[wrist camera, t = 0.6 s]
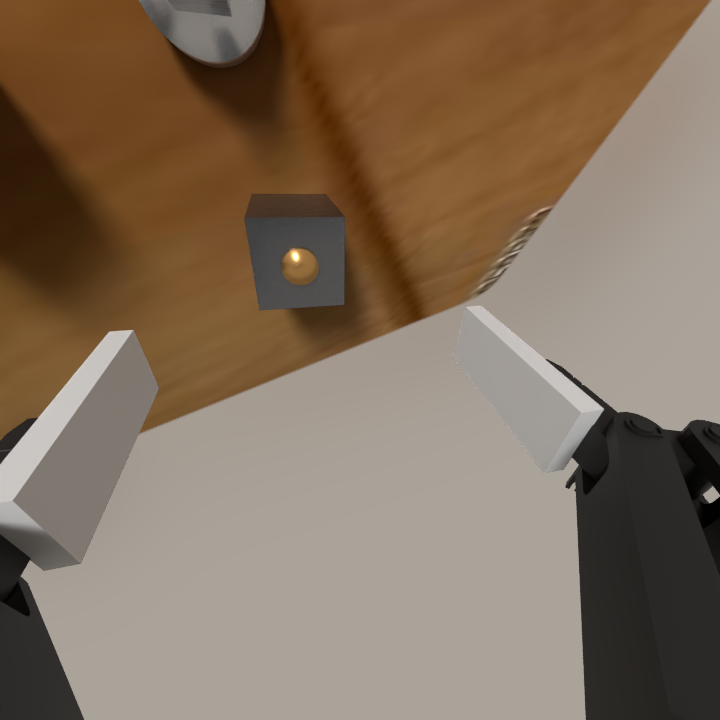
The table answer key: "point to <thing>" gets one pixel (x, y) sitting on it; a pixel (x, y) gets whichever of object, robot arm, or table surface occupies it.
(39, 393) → the table surface
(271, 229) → the cube with brass button
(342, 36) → the table surface
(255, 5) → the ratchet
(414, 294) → the table surface
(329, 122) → the table surface
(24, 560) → the robot arm
